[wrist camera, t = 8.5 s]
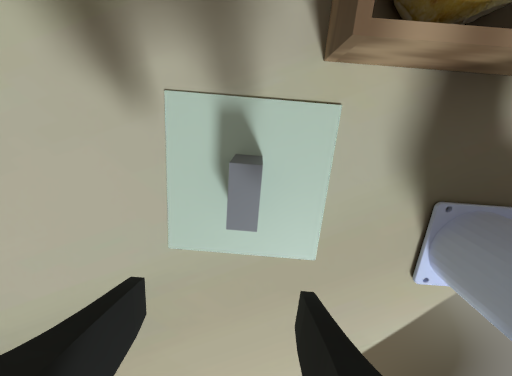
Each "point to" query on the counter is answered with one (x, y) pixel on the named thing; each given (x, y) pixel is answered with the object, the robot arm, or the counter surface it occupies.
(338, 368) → the robot arm
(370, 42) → the box
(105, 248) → the counter surface
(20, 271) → the counter surface
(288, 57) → the counter surface
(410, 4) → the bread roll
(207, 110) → the lid
